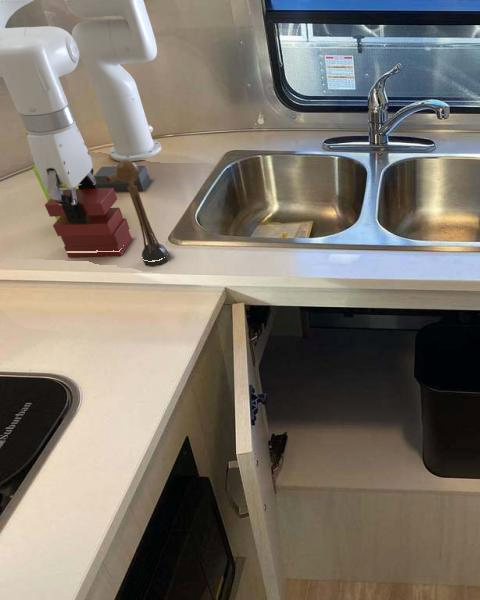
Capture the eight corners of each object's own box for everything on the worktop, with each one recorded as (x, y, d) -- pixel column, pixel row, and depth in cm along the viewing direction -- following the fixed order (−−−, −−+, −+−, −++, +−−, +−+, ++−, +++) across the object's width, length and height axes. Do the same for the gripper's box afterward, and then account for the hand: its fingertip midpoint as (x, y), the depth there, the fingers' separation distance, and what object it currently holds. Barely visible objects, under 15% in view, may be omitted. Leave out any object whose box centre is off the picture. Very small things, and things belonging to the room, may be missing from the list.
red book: (49, 216, 100) (44, 204, 99) (64, 200, 105) (59, 189, 104) (105, 215, 101) (100, 203, 99) (117, 199, 105) (113, 187, 104)
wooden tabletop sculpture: (147, 272, 102) (111, 171, 90) (133, 263, 104) (96, 164, 92) (175, 257, 106) (143, 159, 93) (160, 249, 108) (128, 152, 95)
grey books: (97, 192, 127) (91, 176, 125) (106, 181, 132) (100, 166, 129) (143, 191, 128) (138, 175, 125) (151, 180, 132) (146, 165, 129)
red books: (67, 257, 106) (52, 225, 102) (81, 240, 111) (67, 208, 106) (122, 256, 106) (110, 223, 102) (133, 239, 111) (122, 207, 107)
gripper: (49, 102, 99) (85, 192, 110) (-3, 139, 86) (44, 238, 97) (91, 101, 99) (123, 191, 111) (46, 138, 86) (88, 236, 97)
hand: (86, 212), depth 104 cm, fingers closed on red book, 6 cm apart
